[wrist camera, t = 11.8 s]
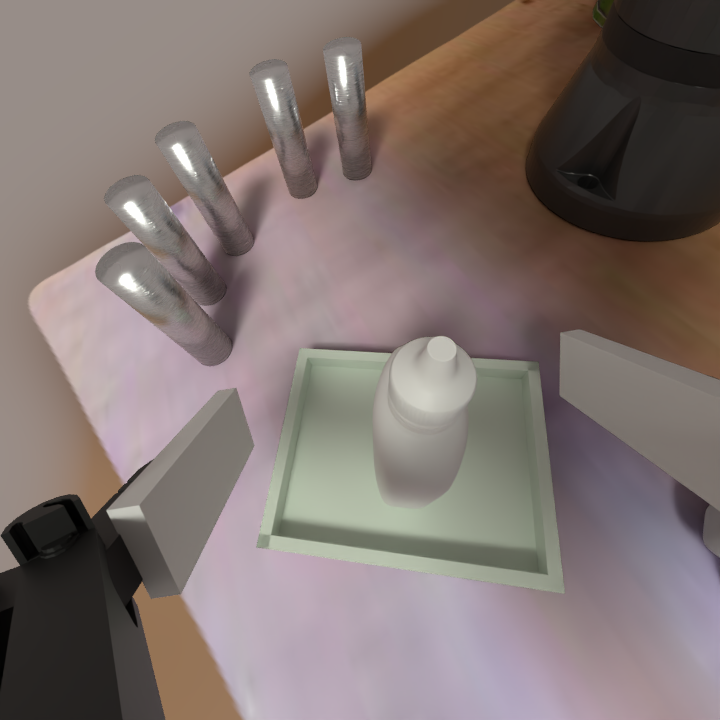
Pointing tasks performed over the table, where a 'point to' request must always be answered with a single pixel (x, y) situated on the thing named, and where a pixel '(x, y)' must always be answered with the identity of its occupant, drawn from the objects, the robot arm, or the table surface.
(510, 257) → the table surface
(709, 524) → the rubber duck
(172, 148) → the spacers
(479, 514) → the tray
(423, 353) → the eye dropper bottle
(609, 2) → the lantern
